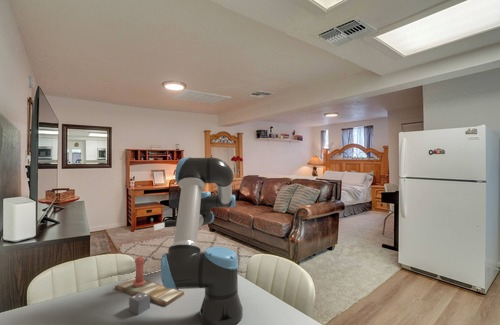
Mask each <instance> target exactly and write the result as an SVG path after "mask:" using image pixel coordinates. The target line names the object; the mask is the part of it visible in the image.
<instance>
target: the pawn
mask: <svg viewBox="0 0 500 325" xmlns="http://www.w3.org/2000/svg"><path fill="white" fill-rule="evenodd" d="M144 263H145V258H144V257H143V256H138V257H136V258H135V260H134V265H135V277H136V280H135V281H134V282H133V287H136V288H138V287H142V286H144V285H145V280H146V279H144Z"/></svg>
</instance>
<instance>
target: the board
mask: <svg viewBox="0 0 500 325" xmlns="http://www.w3.org/2000/svg"><path fill="white" fill-rule="evenodd" d="M135 280H136V276H135V277H131V278H130V279H128V280H125V281H122V282H121V283H119V284H117V285H115V286H114V290H117V291H120V292H123V293H127V294H129V295H132V296H134V295H136V294H138V293H140V292H143V293H146V294H149V295H150V302H152V303H154V304H158V305H161V306H163V307H167V306H169V305H170V304H172V303H174V302H175V301H176V300H178V299H180V298H181V297H183V296H184V295H185V291H184V290H182V289H178V290H176V289H167V288H165V287H164V286H163V284H160V283H157V282H154V281H150V280H147V279H145V285H144V286H142V287H138V288H136V287H133V282H134V281H135Z"/></svg>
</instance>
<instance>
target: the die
mask: <svg viewBox="0 0 500 325" xmlns="http://www.w3.org/2000/svg"><path fill="white" fill-rule="evenodd" d="M128 300H129V302H128V311H129V312H130V313H132V314H135V315H137V316H139V315H141V314H143V313H144V312H146V311H148V310H149V309H150V308H151V301H150V295H149V294H146V293H143V292H140V293H138V294H136V295H132V296H131V297H128Z"/></svg>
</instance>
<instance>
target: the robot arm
mask: <svg viewBox="0 0 500 325" xmlns="http://www.w3.org/2000/svg"><path fill="white" fill-rule="evenodd" d="M174 177H175V183H177V184H178V187H179V188H180V196H179V202H178V209H177V217H176V219H174V220H165V221H161V222H159V223H156V224H153V227H152V228H153V230H152V231H158V230H164V229H165V228H173V227H174V228H173V229H174V230H173V232H174V233H173V234H174V238H173V243H172V244H171V245H170V246H169V247H168V250H167V252H166V253H163V254H162V255H161V259H160V279H161V283H162V285H163V286H164V287H165V288H167V289H176V290H188V289H193V290H194V289H204V297H203V301H202V303H201V307H200V310H199V321H200V320H201V321H200V322H201V324H203V325H235V324H236V323H237V324H239V323H240V322H241V320H242V319H243V317H244V316H243V312H244V311H243V310H244V309H243V305H242V303H241V299H240V295H239V292H238V290H239V289H238V282H239V281H238V276H239V275H238V268H239V264H238V263H239V262H238V254H237V253H236V252H235V251H234V250H232V249H231V248H228V247H225V246H224V247H223V246H211V247H207V248H206V249H205V250H204V252H201V251H202V250H201V247H200V246H199V245H198V238H199V236H198V234H199V227H203V226H207V225H209V224H212V223H213V222H214V220H215V215H214V213H213V211H212V208H213V209H215V208H220V209H221V208H222V209H223V208H224V209H225V208H228V209H229V208H236V195H235V194H233V193H232V192H233V190H232V189H233V186H232V184H233V182H234V172H233V169H232V168H231V167H230V166H229V164H228V163H226V161H224V160H222V159H220V158H217V157H191V156H190V157H182V158H180V159H179V160H178V162H177V164H176V168H175V174H174ZM206 184H215V185H216V189H217V194H212V193H211V191H203V190H204V189H205V188H206ZM239 321H240V322H239ZM237 324H236V325H237Z"/></svg>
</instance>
